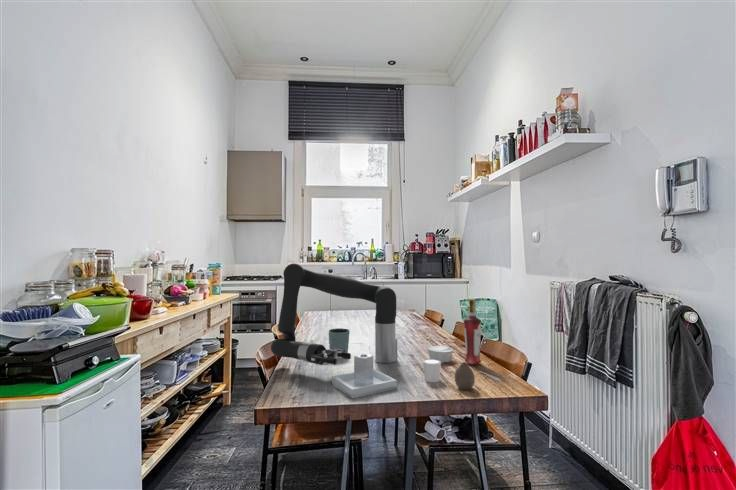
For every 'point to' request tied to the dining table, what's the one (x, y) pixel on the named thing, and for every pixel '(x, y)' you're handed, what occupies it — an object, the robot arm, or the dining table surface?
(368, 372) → the steel block
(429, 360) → the white cylinder
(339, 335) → the green cup
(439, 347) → the ramekin
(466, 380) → the grey egg-shaped piece
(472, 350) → the liquor
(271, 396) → the dining table surface
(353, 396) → the tray
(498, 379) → the butter knife
